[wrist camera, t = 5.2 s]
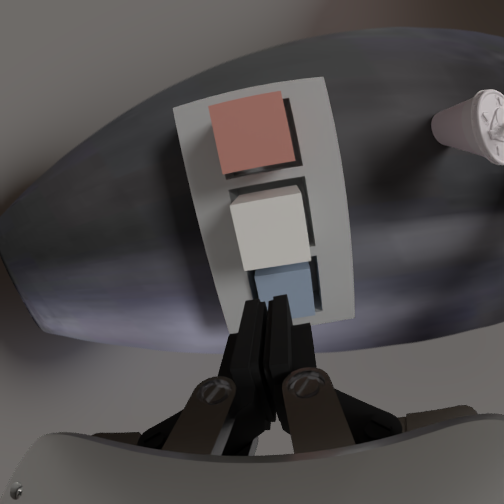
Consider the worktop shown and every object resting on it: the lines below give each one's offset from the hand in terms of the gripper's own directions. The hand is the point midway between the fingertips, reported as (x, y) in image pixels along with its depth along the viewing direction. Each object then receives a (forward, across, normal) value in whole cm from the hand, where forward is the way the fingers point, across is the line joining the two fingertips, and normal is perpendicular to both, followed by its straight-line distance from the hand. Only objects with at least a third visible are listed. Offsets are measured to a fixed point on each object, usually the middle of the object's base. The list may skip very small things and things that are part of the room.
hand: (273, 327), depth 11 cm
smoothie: (+17, -20, -7) cm, 28 cm away
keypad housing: (+17, 0, -2) cm, 17 cm away
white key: (+12, 0, -2) cm, 12 cm away
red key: (+12, 0, -8) cm, 15 cm away
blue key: (+15, 0, +5) cm, 16 cm away
